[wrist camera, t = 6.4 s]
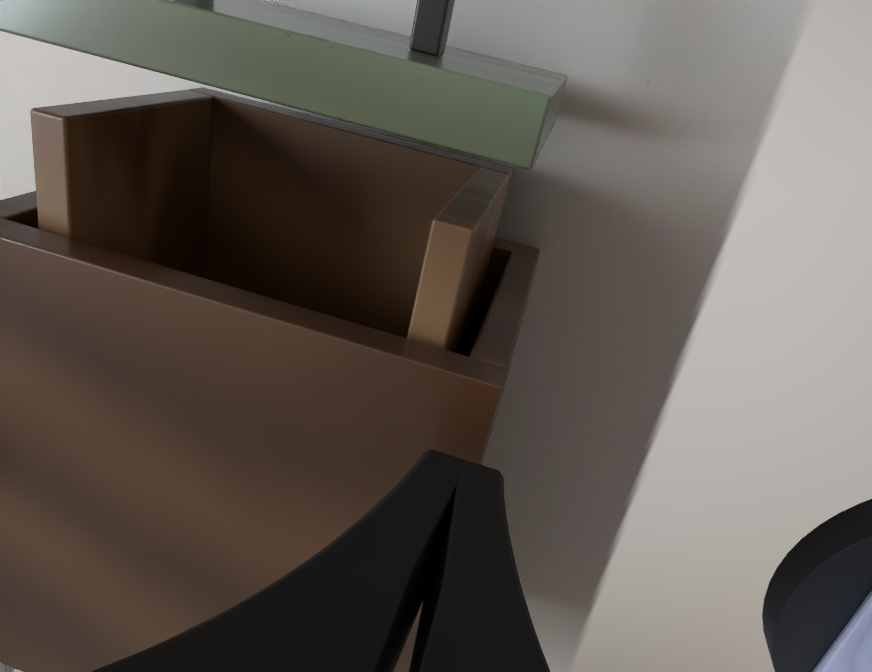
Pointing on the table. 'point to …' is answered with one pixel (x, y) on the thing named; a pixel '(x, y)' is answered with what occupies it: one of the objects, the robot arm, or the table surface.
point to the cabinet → (200, 437)
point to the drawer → (292, 154)
